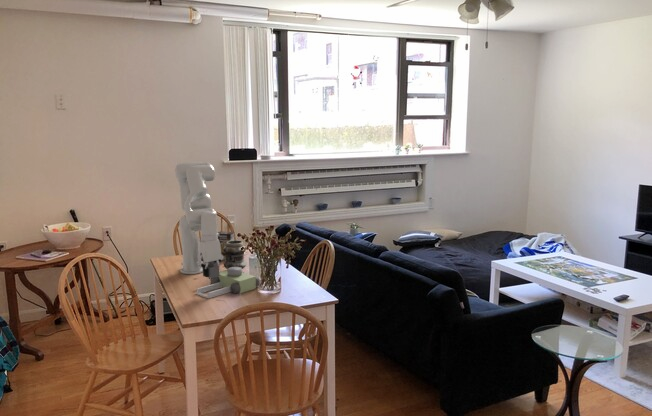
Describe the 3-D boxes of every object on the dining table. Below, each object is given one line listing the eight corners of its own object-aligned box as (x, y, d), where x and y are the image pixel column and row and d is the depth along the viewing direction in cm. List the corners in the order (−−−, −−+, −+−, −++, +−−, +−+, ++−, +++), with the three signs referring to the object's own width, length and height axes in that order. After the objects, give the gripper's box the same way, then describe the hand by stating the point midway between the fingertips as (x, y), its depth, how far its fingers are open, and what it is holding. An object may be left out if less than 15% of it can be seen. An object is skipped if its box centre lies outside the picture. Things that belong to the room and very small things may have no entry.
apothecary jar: (241, 278, 268) (241, 244, 265) (220, 276, 271) (219, 243, 268) (249, 271, 280) (249, 239, 277) (229, 270, 282) (228, 238, 279)
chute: (203, 276, 243) (202, 262, 242) (211, 273, 247) (211, 260, 246) (210, 278, 239) (210, 264, 238) (219, 276, 243) (218, 262, 242)
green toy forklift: (189, 291, 248) (188, 273, 246) (232, 278, 267) (232, 262, 266) (215, 301, 234) (215, 282, 233) (259, 287, 254) (259, 269, 252)
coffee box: (216, 259, 304) (215, 233, 301) (220, 257, 310) (219, 231, 307) (231, 260, 302) (230, 233, 300) (234, 257, 309) (234, 231, 306)
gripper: (219, 233, 249) (220, 269, 252) (189, 239, 237) (191, 277, 239) (229, 235, 244) (230, 272, 247) (199, 241, 232) (200, 280, 234)
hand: (211, 274), depth 243 cm, fingers closed on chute, 5 cm apart
